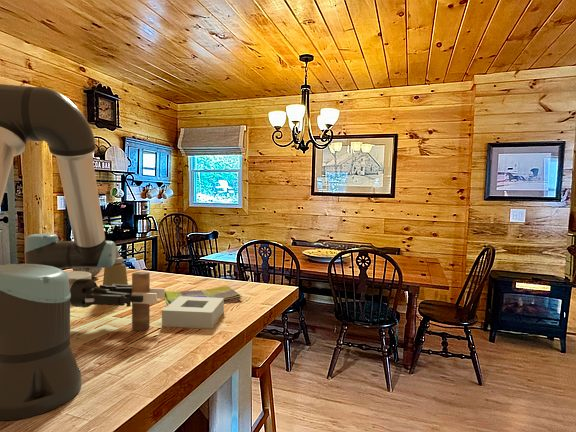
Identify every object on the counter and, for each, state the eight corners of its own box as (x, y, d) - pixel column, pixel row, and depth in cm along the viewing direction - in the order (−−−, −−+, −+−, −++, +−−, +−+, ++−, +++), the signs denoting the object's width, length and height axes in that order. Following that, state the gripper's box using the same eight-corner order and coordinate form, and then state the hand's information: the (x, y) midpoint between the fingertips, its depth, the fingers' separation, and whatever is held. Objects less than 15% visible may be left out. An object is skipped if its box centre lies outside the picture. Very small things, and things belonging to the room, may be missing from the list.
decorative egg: (71, 282, 147) (70, 245, 146) (71, 276, 157) (71, 241, 156) (103, 279, 152) (103, 243, 151) (102, 274, 163) (102, 240, 162)
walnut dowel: (145, 331, 98) (145, 275, 97) (129, 330, 98) (128, 274, 97) (152, 325, 102) (152, 271, 101) (136, 324, 102) (136, 271, 102)
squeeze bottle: (118, 304, 120) (118, 249, 119) (96, 302, 122) (96, 248, 121) (133, 297, 128) (133, 246, 127) (112, 295, 130) (112, 245, 129)
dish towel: (162, 296, 132) (162, 289, 132) (229, 290, 143) (229, 283, 142) (169, 311, 117) (169, 302, 116) (243, 303, 127) (243, 295, 127)
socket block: (211, 328, 101) (212, 312, 101) (161, 326, 102) (161, 310, 102) (223, 312, 115) (223, 298, 115) (179, 310, 116) (179, 296, 116)
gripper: (95, 297, 110) (172, 300, 108) (54, 316, 92) (146, 320, 91) (94, 272, 109) (172, 275, 108) (54, 287, 92) (146, 290, 90)
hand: (160, 296), depth 99 cm, fingers closed on walnut dowel, 4 cm apart
